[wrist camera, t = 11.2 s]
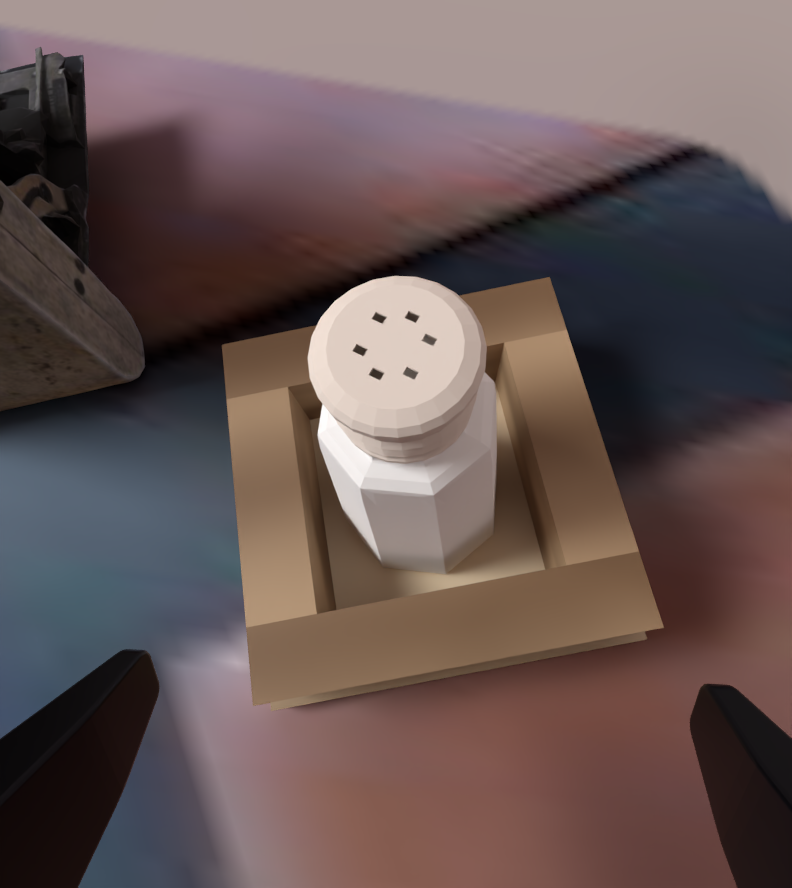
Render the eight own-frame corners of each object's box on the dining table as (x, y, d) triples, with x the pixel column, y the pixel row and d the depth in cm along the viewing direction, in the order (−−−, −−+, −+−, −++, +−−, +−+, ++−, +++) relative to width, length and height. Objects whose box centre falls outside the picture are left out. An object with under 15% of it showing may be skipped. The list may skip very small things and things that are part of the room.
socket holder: (636, 638, 18) (689, 644, 14) (280, 706, 18) (236, 730, 14) (539, 324, 21) (560, 261, 18) (247, 384, 22) (206, 334, 18)
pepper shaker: (456, 608, 17) (475, 596, 7) (316, 529, 18) (151, 417, 8) (527, 466, 19) (635, 272, 8) (391, 400, 20) (334, 159, 9)
